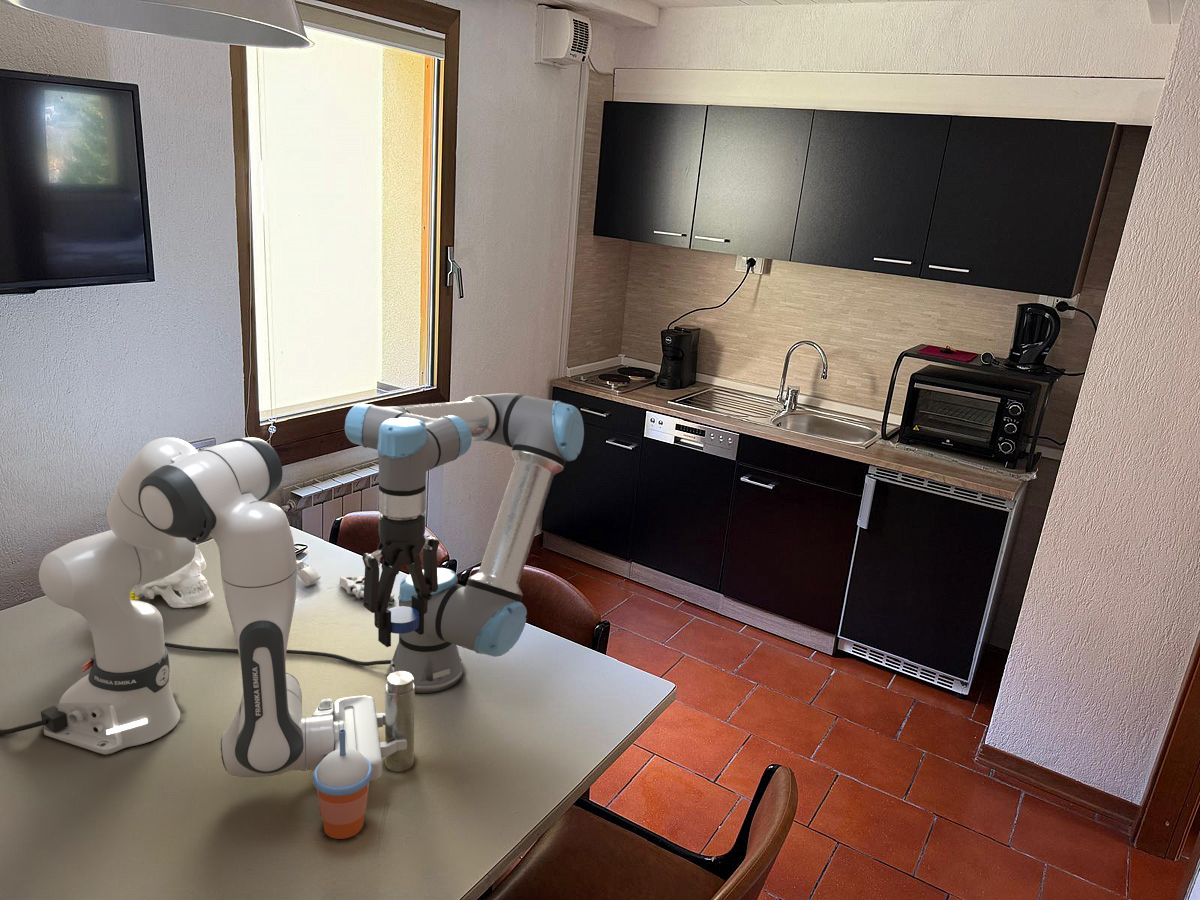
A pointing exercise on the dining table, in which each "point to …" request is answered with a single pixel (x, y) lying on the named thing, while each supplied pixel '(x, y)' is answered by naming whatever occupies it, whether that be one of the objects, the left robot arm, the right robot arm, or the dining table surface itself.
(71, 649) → the dining table surface
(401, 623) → the lid
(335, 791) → the cup with straw
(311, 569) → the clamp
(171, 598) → the skull
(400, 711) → the silver metal cylinder
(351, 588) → the toy gun
